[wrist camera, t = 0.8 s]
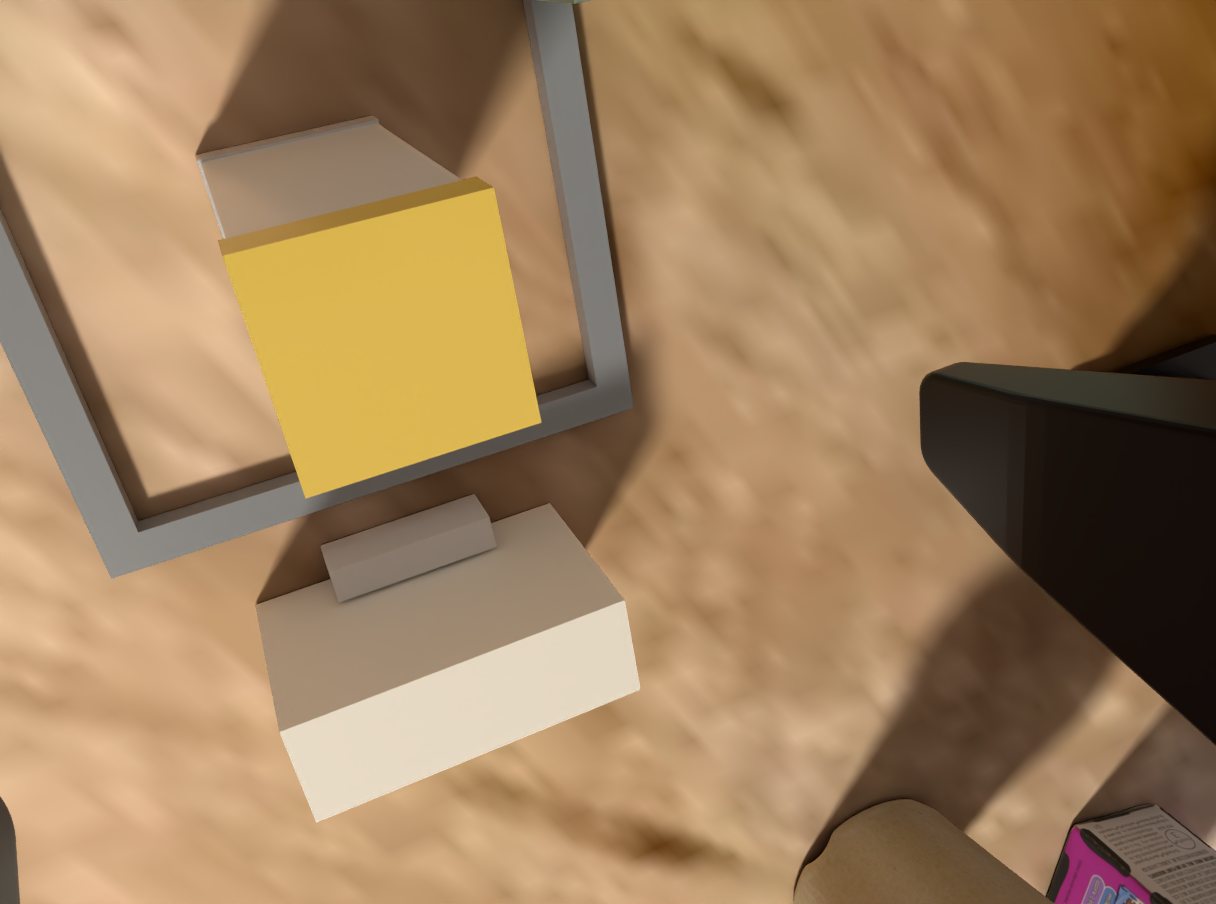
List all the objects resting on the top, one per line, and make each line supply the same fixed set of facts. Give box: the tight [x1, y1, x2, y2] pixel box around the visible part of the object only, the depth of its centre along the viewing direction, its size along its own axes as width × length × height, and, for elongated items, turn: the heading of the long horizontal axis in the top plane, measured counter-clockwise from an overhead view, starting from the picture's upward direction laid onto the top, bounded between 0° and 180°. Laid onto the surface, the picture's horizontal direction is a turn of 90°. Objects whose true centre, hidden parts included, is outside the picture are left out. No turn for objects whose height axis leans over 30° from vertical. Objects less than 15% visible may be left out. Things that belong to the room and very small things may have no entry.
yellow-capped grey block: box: [195, 116, 542, 498], centre depth 17 cm, size 3×3×8 cm
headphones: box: [0, 0, 640, 823], centre depth 18 cm, size 12×22×4 cm, turn 9°
